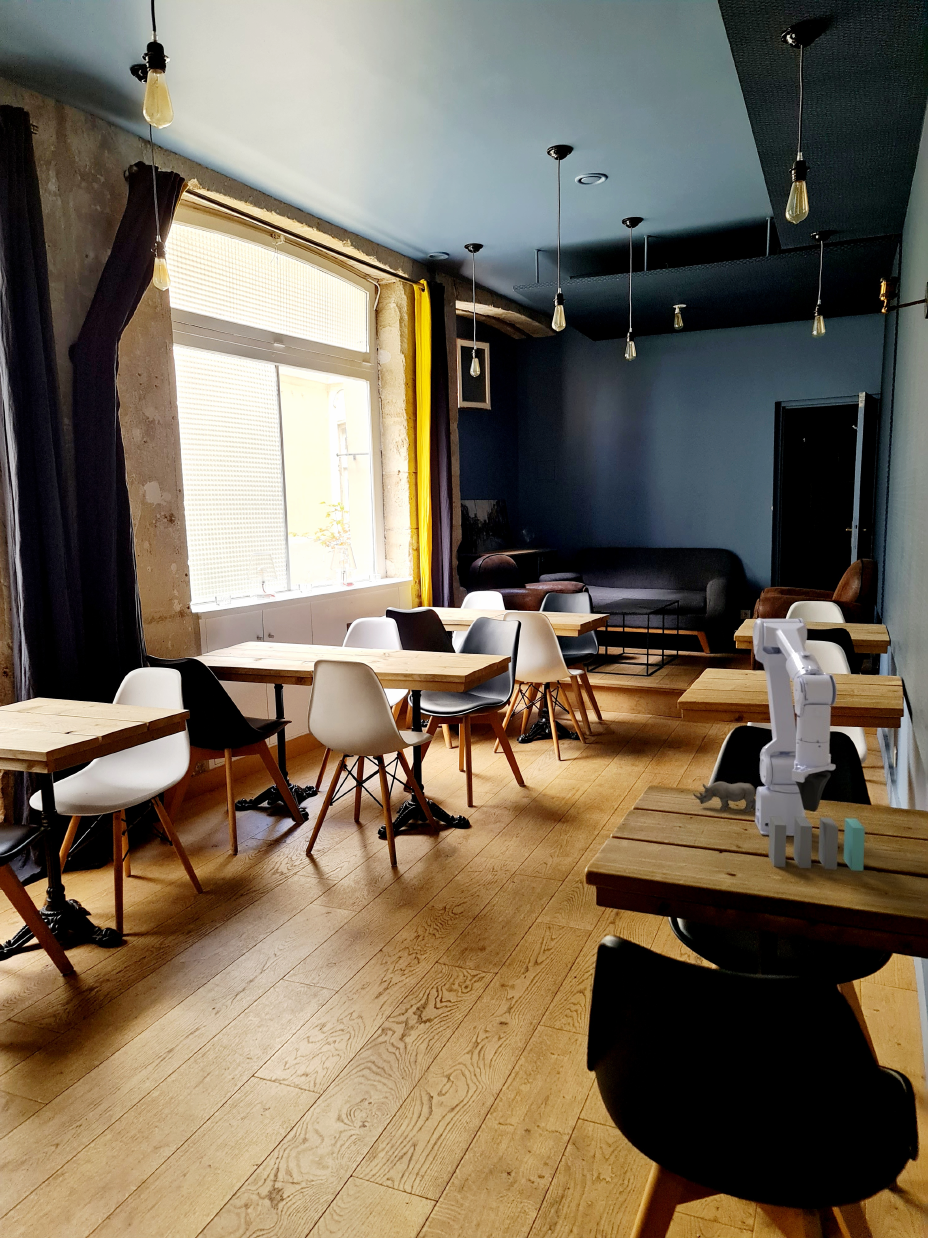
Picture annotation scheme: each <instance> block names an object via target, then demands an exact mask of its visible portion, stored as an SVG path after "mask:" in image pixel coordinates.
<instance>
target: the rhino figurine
mask: <svg viewBox="0 0 928 1238" xmlns="http://www.w3.org/2000/svg"><path fill="white" fill-rule="evenodd" d="M702 787H703V789H704V791H703V792H698V794H699V795H697V794H695V793H694V792H693V793H692V795H693V797H694V798H695V799H697V800H698V801H699V803H700V804H701V805H704V804H706V803H709V802H710V801H712V800H713V798H718V799H719V801H720V803H721V806H720V807H719V811H726V810H727V808H728V807H729V806H730V803H729V802H733V803H737V802H741V801H742V800H744V802H745V806H744V808H742V811H743V812H746V813H749V812H751V810H756V789H755V786H753V785H752V784H751V783H747V782H746V783H744V782H737V783H732V784H731V783H727V782H725V781H716V782H714V783H712V784H710V785H706V784H705V783H702Z"/></svg>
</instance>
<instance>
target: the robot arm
mask: <svg viewBox="0 0 928 1238" xmlns="http://www.w3.org/2000/svg"><path fill="white" fill-rule="evenodd" d="M807 639H808V629H807V624H806V622H805V620H804V619H803V618H801V617H798V618H760V617H758V618H757V619H756V620H755V621H754V623H753V626H752V642H753V653H754V655H755V660H756V661H758V662H760V663H761V664H762V665H763V669H764V671H765V679H766V688H767V697H768V706H769V716H770V725H771V736H772V740H771V741H770V742H768V743H767V744H766V745H765V746H763V747H762V749H761V751H760V753H759V758H760V761H759V774H760V775H759V776H760V780H761V782H762V784H764V785H763V786H758V787H757V788H756V790H755V794H756V796H755V799H756V809H755V817H754V818H755V819H754V822H755V825H756V827H757V828H758V830H759V833H760V835H763V836H764V835H765V836H769V826H770V816H781V817H782V819H783V820H784V822H785V824H786V837H787V836H789V837H794V822H795V816H796V817H806V811H809V812H812V813H814V812H817V811H818V809H819V806H820V802H821V798H822V795H823V792H824V789H825V786H826V784H827V783H828V781H829V779H830V778H831V772H830V771H834V770H835V769H836V764H834V763H831V759H832V758H831V757H832V754H831V753H830V739H831V711H832V710H831V709H832V706H834V705H835V704H836V701H837V695H838V694H837V693H838V692H837V690H838V689H837V688H838V687H837V682H836V680H835V678H834V675H833V674H831V673H828V672H824V671H823V668H822V667H821V665H820V664H819V661H818V659H817V658H816V656H815V655H814V654H813V653H811V652H809V651H807V650H806V647H805V644H806V643H807ZM791 681H792V683H791ZM792 684H793V685H792ZM791 685H792V686H791ZM792 687H793V688H792ZM792 691H793V692H792ZM793 700H794V702H793ZM795 714H796V717H795ZM795 719H796V720H795Z"/></svg>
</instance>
